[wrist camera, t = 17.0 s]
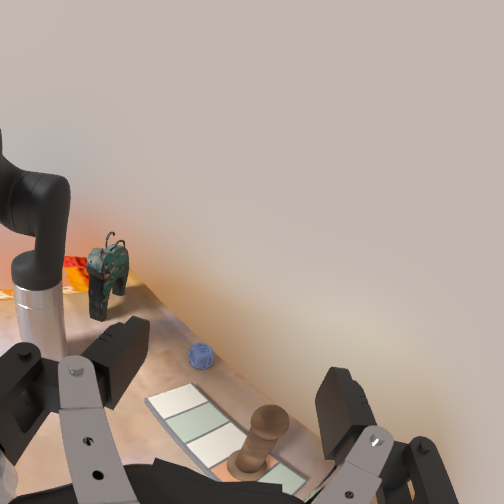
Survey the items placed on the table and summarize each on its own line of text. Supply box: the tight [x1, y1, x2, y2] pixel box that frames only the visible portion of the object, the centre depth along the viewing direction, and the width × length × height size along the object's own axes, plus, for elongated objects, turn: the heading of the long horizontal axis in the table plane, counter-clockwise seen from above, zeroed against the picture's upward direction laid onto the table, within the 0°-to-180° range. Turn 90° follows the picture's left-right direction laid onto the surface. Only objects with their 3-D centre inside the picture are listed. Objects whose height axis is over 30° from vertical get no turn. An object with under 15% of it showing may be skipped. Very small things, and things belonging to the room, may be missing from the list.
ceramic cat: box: [86, 232, 129, 322], centre depth 61 cm, size 20×6×20 cm, turn 2°
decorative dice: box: [189, 343, 214, 369], centre depth 53 cm, size 4×4×4 cm
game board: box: [145, 383, 308, 495], centre depth 33 cm, size 27×10×1 cm, turn 46°
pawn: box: [227, 405, 289, 481], centre depth 28 cm, size 6×6×14 cm
